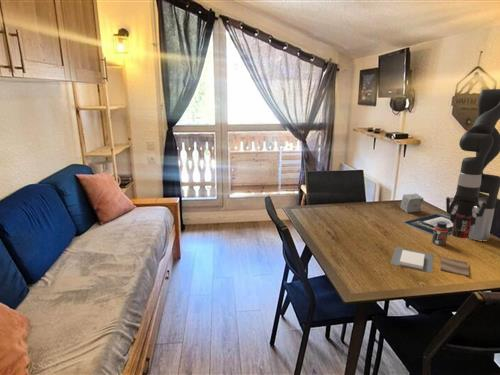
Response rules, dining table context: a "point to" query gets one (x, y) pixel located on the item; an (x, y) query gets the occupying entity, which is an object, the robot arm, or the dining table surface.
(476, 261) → the dining table surface
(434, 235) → the supplement bottle
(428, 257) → the mat
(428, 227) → the dark picture frame
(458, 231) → the deodorant
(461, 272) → the rest board
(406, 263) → the tile
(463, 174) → the robot arm
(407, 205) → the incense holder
